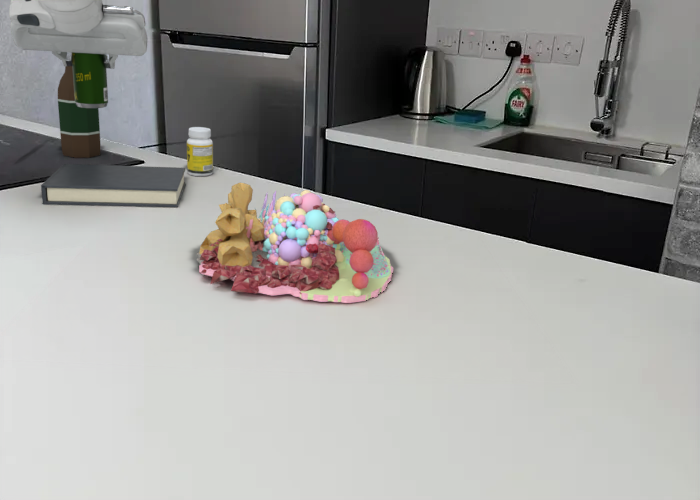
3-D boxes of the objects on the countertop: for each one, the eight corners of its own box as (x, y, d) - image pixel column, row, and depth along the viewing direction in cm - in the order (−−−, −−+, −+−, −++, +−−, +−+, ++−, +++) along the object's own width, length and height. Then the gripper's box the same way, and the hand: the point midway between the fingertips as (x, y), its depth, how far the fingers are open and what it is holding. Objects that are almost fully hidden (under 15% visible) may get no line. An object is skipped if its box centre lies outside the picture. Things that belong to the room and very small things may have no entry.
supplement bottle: (188, 170, 130) (188, 125, 127) (214, 171, 130) (213, 127, 127) (185, 176, 125) (185, 130, 122) (211, 177, 126) (211, 131, 123)
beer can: (109, 104, 120) (105, 33, 116) (107, 108, 115) (103, 35, 111) (76, 103, 119) (71, 31, 115) (73, 108, 114) (67, 33, 110)
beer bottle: (54, 151, 136) (44, 25, 128) (93, 148, 141) (85, 27, 133) (69, 159, 131) (59, 29, 123) (109, 156, 136) (102, 30, 128)
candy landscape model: (178, 297, 76) (176, 218, 72) (211, 230, 98) (211, 167, 95) (401, 308, 77) (409, 230, 74) (384, 239, 99) (390, 177, 96)
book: (42, 204, 104) (40, 185, 103) (65, 180, 117) (64, 163, 116) (177, 207, 107) (177, 188, 106) (185, 184, 120) (185, 167, 119)
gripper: (144, -7, 106) (154, 53, 118) (4, -17, 103) (29, 46, 115) (141, 24, 103) (151, 82, 116) (-3, 15, 100) (24, 76, 113)
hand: (89, 64), depth 115 cm, fingers closed on beer can, 5 cm apart
